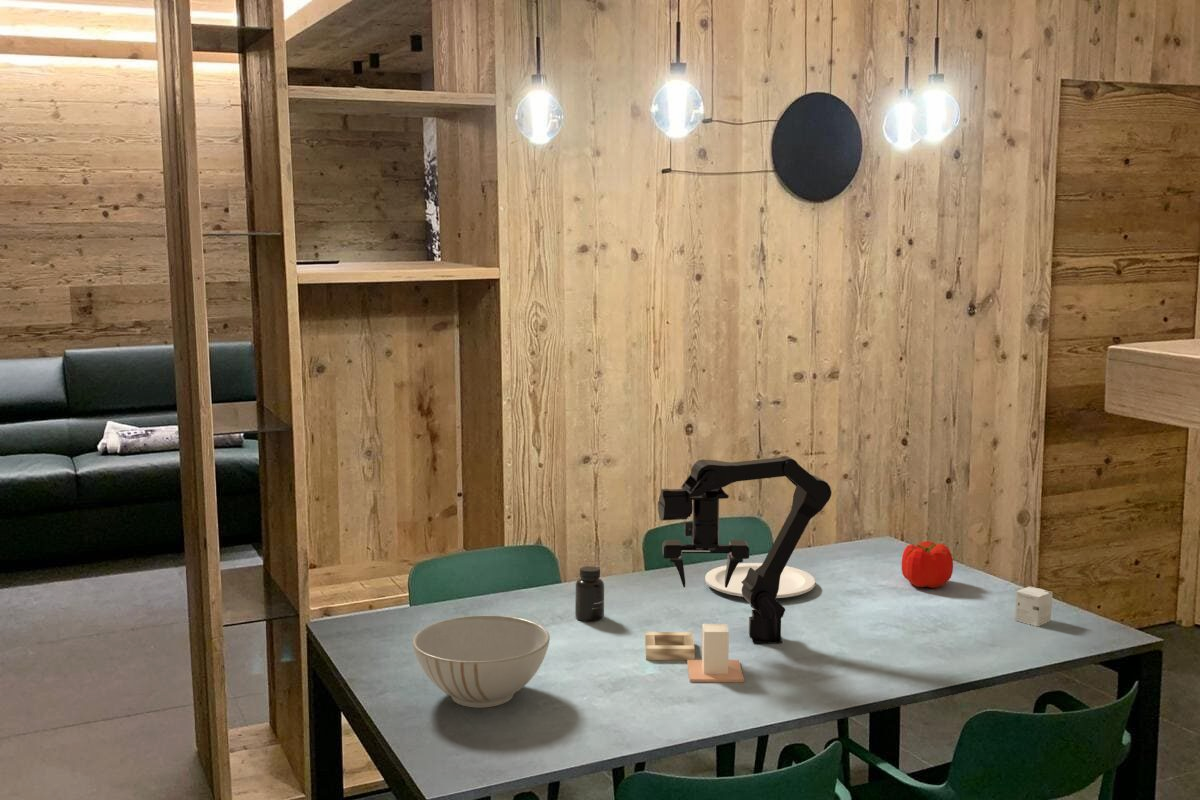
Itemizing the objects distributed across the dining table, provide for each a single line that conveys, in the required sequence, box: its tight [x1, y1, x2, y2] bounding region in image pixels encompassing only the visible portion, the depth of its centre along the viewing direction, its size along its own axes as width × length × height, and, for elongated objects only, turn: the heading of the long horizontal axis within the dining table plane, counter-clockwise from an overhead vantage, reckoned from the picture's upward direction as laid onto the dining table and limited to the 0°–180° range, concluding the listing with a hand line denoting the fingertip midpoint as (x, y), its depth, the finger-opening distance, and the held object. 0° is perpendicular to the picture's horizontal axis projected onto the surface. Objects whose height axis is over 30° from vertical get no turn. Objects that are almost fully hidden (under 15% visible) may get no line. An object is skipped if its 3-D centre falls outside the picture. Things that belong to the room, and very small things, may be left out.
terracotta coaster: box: [686, 659, 745, 683], centre depth 249 cm, size 11×11×1 cm
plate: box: [704, 562, 816, 599], centre depth 307 cm, size 28×28×2 cm
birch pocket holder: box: [644, 631, 696, 661], centre depth 261 cm, size 10×10×2 cm
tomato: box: [901, 540, 954, 589], centre depth 307 cm, size 14×13×10 cm
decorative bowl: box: [412, 614, 550, 709], centre depth 236 cm, size 27×27×12 cm
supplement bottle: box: [574, 565, 605, 623], centre depth 282 cm, size 7×7×12 cm
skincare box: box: [1014, 586, 1054, 627], centre depth 279 cm, size 6×6×7 cm
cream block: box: [701, 623, 730, 674], centre depth 248 cm, size 5×5×9 cm
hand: (705, 586), depth 264 cm, fingers open, 9 cm apart
